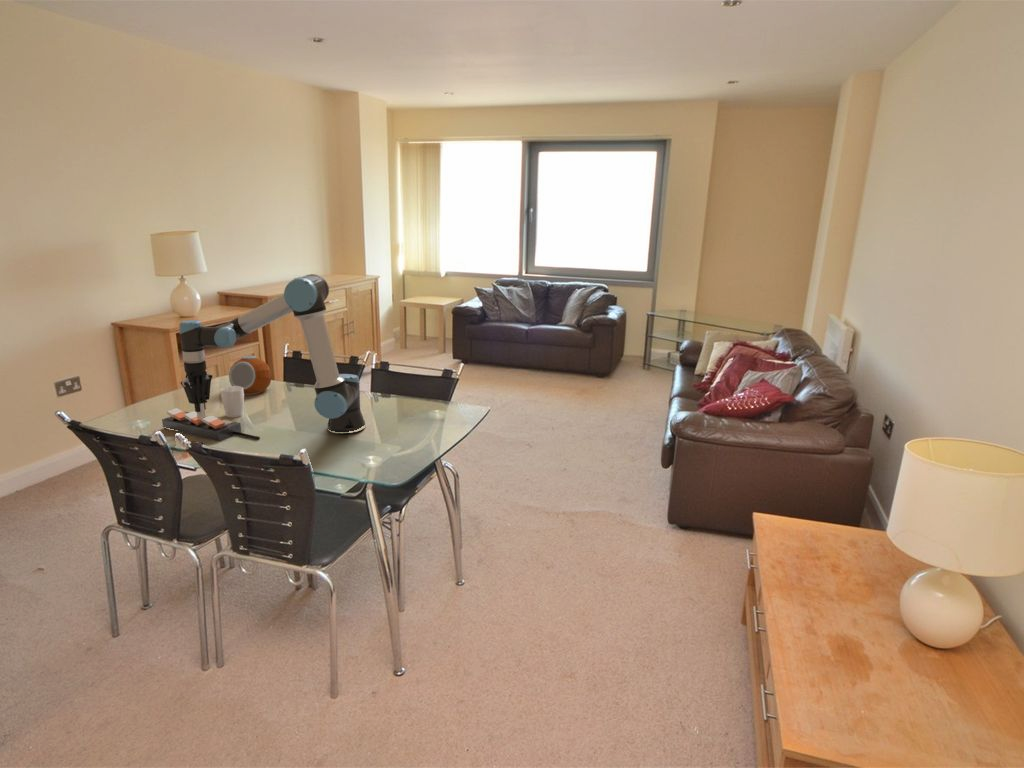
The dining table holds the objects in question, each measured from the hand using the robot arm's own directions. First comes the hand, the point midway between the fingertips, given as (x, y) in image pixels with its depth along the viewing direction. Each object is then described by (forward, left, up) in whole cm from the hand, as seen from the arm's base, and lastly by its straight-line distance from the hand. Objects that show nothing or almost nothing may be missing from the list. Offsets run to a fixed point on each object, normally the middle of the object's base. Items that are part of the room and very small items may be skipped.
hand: (201, 418), depth 236 cm
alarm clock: (+27, -52, -7) cm, 59 cm away
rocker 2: (+4, 0, -1) cm, 4 cm away
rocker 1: (+13, 0, -1) cm, 13 cm away
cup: (+7, -22, -7) cm, 24 cm away
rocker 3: (-6, 0, -1) cm, 6 cm away
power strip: (-2, -3, -6) cm, 7 cm away
